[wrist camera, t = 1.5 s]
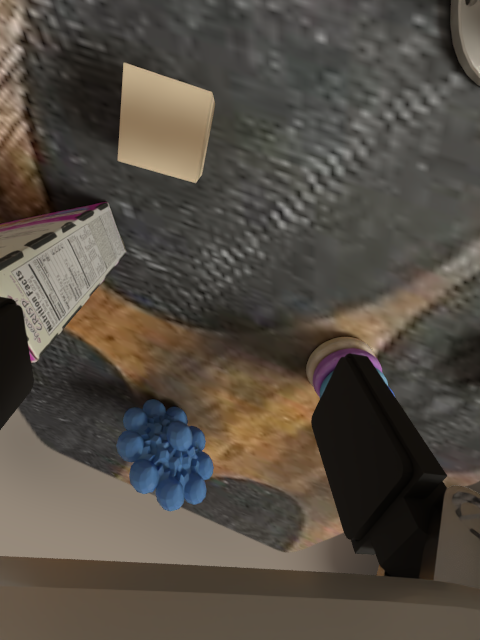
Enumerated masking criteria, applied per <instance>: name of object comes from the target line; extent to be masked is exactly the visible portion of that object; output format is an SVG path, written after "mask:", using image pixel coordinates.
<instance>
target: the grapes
mask: <svg viewBox="0 0 480 640" xmlns="http://www.w3.org/2000/svg"><path fill="white" fill-rule="evenodd" d="M123 423H124V427H125V428H126V430H127V431H124V432H123V433H122V434H121V435H120V436H119V438H118V442H117V451H118V453H119V455H120V456H121V457H122V458H123V460H125V461H128V462H134V463H133V465H132V466H131V470H130V474H129V477H130V482H131V485H132V486H133V487H134V488H135V489H136V491H137V492H139V493H142V494H147V493H150V492H153V491H154V490H155V488H156V497H157V501H158V502H159V504H160V505H161V506H162V507H163V509H165V510H167V511H174V510H177V509H179V508H180V507H181V506H182V504H183V502H184V499H185V500H186V501H187V502H188V503H191V504H198V503H201V502H202V501H203V499H204V498H205V496H206V485H205V482H204V480H207V479H209V478H210V477H211V475H212V474H213V468H214V467H213V463H212V460H211V458H210V457H209V455H208V454H206V453H205V452H202V450H203V449H204V447H205V442H206V441H205V436H204V434H203V432H202V431H201V430H200V429H199V428H197V427H194V426H188V425H187V423H188V420H187V416H186V414H185V412H184V411H183V410H182V409H180V408H178V407H170V408H169V409H168V410H167V411H166V410H165V407H164V405H163V403H161V402H160V401H158V400H155V399H151V400H147V401H146V402H145V403H144V405H143V409H141V408H137V407H133V408H129V409H128V410H127V411H126V412H125V415H124V419H123Z"/></svg>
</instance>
